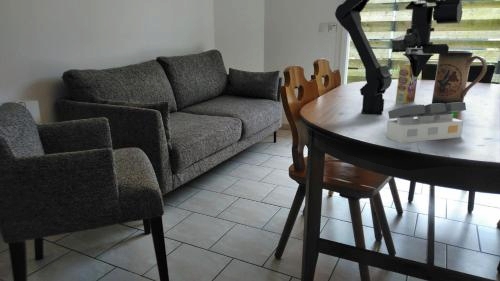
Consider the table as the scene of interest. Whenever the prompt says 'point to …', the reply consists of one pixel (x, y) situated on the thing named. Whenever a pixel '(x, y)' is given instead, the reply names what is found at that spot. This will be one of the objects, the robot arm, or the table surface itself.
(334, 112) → the table surface
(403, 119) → the power strip
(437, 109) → the rocker
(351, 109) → the table surface
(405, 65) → the candy box
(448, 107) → the rocker
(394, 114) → the rocker
